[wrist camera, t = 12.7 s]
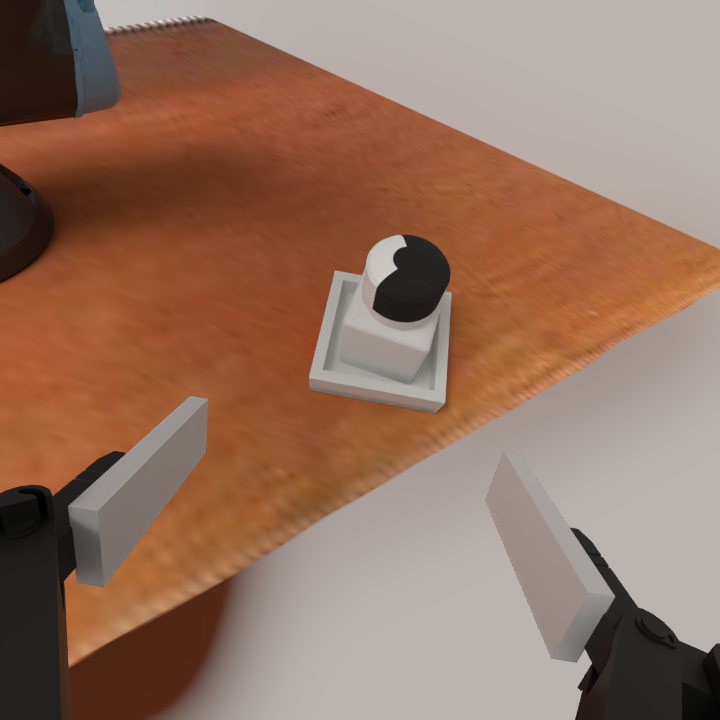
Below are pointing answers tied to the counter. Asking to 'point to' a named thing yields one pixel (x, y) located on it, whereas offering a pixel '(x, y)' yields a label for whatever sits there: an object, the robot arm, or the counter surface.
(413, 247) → the medicine bottle
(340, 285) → the grey square tray
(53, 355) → the counter surface
